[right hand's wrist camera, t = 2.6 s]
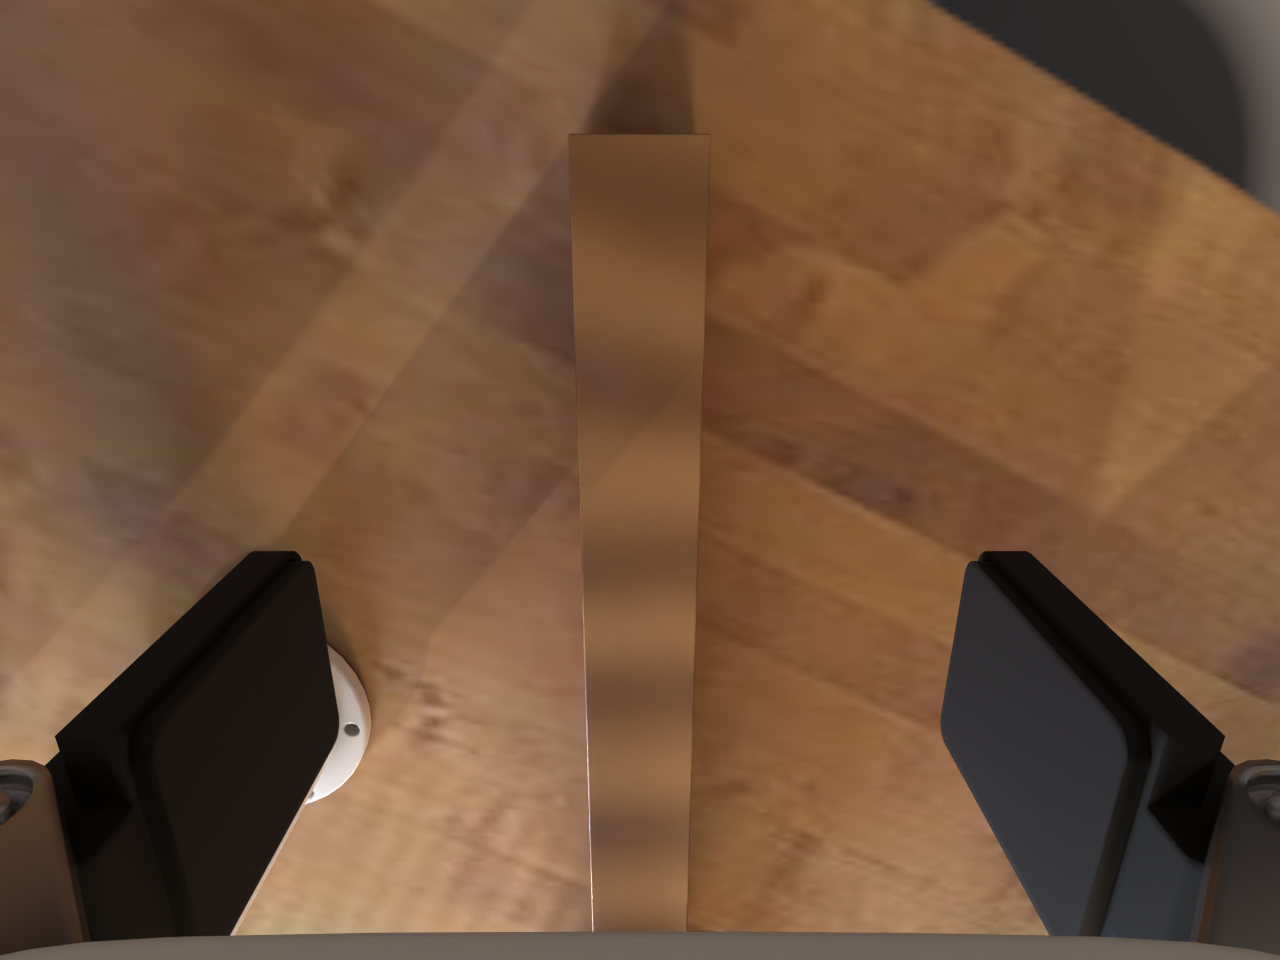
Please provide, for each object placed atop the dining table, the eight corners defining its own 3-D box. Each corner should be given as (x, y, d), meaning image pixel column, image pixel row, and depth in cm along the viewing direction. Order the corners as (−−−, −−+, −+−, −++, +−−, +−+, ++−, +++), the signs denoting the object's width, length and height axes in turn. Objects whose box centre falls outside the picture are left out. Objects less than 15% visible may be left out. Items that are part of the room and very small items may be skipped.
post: (582, 144, 34) (568, 133, 27) (696, 144, 34) (710, 133, 27) (605, 1092, 56) (601, 1216, 49) (673, 1092, 56) (678, 1216, 49)
